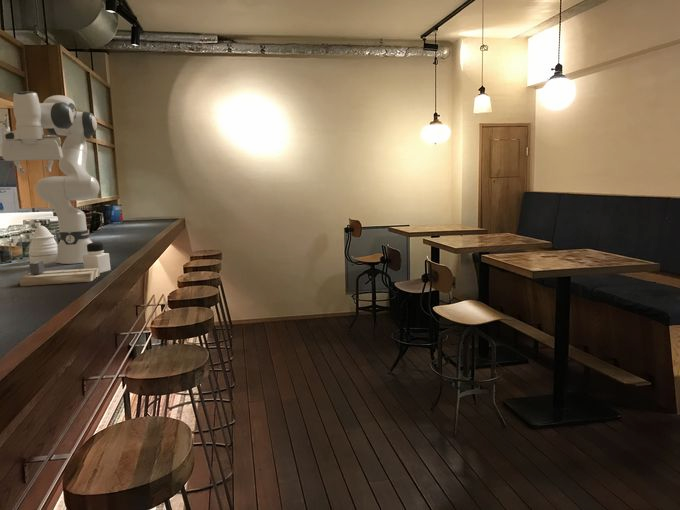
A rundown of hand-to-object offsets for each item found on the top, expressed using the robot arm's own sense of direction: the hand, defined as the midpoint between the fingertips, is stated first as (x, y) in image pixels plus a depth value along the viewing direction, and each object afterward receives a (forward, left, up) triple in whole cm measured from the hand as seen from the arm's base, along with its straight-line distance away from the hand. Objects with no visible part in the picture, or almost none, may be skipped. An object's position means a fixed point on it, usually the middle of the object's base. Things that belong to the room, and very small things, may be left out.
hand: (35, 172), depth 194 cm
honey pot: (-41, -16, -41) cm, 60 cm away
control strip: (+10, +8, -41) cm, 43 cm away
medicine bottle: (-4, +17, -41) cm, 45 cm away
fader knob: (+10, 0, -37) cm, 39 cm away
